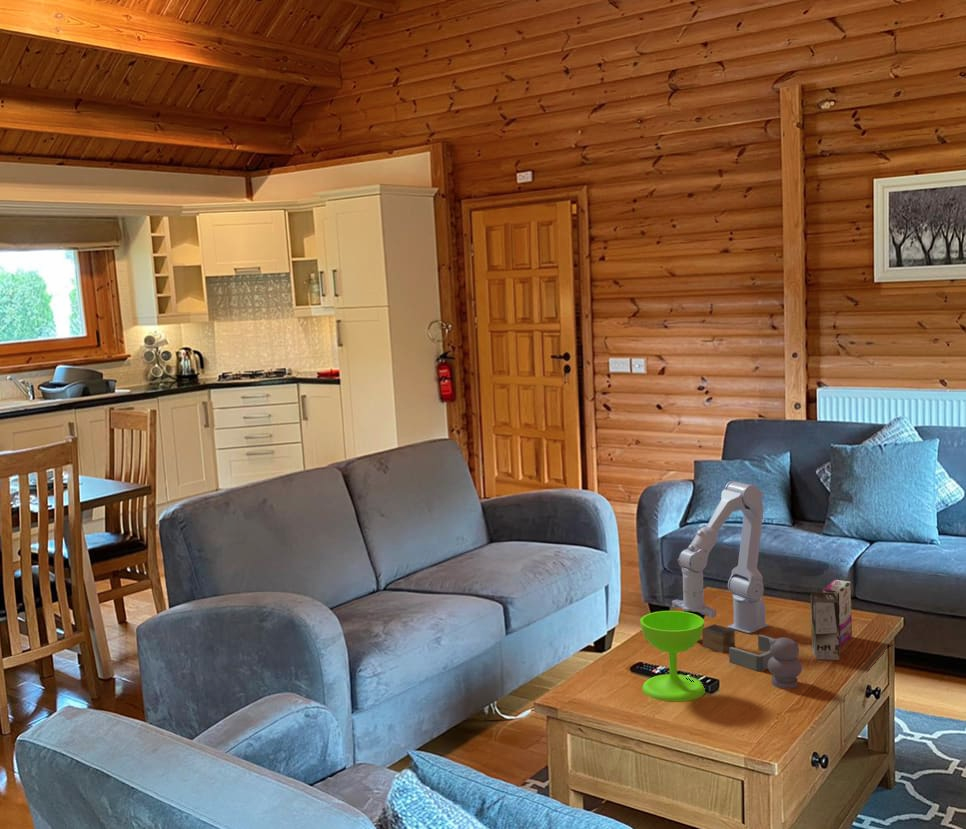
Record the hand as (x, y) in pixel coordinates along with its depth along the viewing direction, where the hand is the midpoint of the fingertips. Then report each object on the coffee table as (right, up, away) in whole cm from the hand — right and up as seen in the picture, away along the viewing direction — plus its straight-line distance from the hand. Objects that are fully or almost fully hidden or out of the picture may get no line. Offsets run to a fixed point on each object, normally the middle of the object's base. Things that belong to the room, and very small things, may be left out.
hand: (694, 635), depth 281 cm
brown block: (+6, -2, -7) cm, 9 cm away
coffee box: (+33, -2, -16) cm, 36 cm away
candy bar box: (+39, 0, -6) cm, 40 cm away
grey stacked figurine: (+16, -5, -34) cm, 38 cm away
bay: (+14, -3, -17) cm, 23 cm away
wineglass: (-13, -6, -34) cm, 37 cm away
